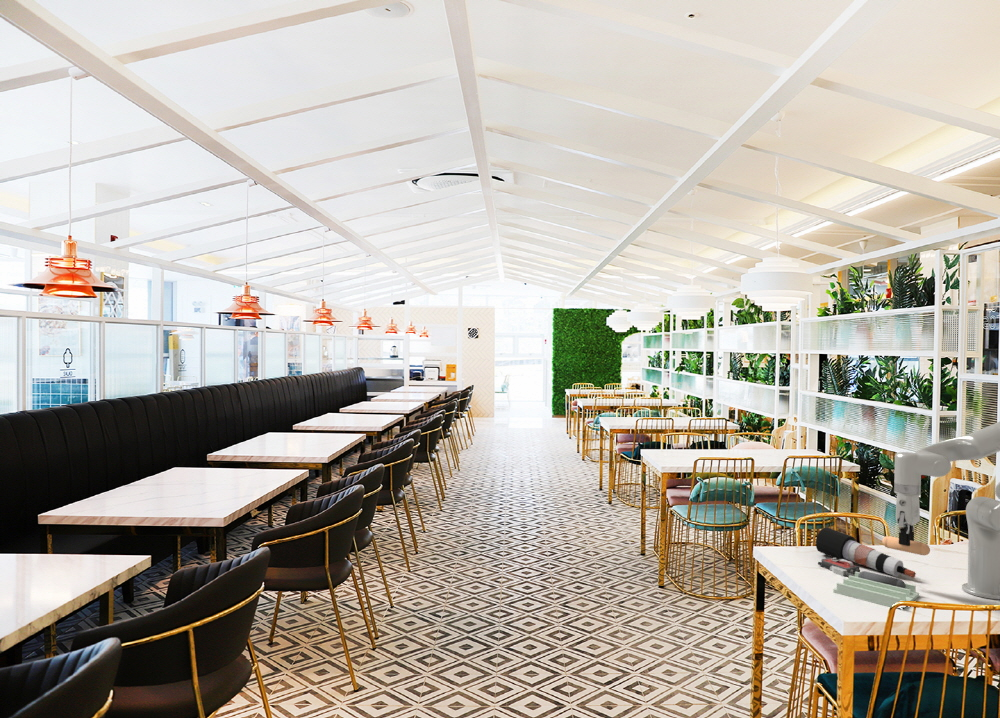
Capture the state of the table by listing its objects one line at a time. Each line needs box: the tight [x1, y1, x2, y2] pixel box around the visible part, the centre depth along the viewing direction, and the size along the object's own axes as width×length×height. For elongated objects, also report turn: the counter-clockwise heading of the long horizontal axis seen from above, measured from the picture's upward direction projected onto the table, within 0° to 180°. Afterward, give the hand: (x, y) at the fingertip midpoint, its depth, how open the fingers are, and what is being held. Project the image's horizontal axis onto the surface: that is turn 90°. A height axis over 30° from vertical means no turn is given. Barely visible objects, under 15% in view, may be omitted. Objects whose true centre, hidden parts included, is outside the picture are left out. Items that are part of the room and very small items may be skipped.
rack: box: [832, 571, 920, 610], centre depth 211 cm, size 20×18×3 cm
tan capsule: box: [881, 535, 931, 556], centre depth 218 cm, size 14×4×4 cm, turn 43°
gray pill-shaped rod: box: [858, 570, 906, 588], centre depth 215 cm, size 14×4×4 cm, turn 43°
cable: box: [815, 527, 917, 579], centre depth 240 cm, size 10×34×10 cm, turn 29°
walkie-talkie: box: [817, 557, 861, 577], centre depth 233 cm, size 9×4×20 cm
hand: (906, 543), depth 217 cm, fingers closed on tan capsule, 3 cm apart
